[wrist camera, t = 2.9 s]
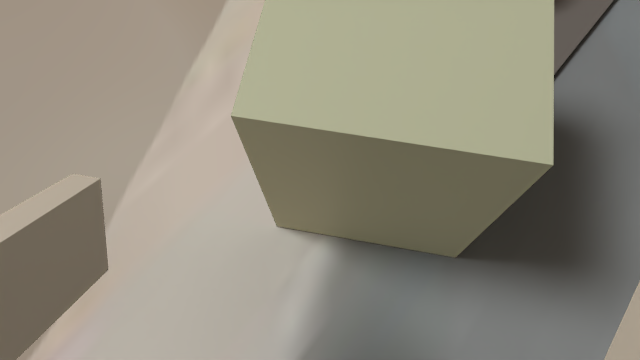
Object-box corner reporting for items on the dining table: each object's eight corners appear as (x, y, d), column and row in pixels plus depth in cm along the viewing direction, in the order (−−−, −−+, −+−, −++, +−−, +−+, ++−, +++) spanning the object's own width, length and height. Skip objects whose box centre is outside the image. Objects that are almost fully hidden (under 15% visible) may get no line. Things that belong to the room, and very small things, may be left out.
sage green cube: (468, 101, 29) (554, -74, 18) (455, 257, 25) (553, 164, 14) (310, 79, 30) (295, -101, 19) (276, 226, 26) (230, 115, 15)
